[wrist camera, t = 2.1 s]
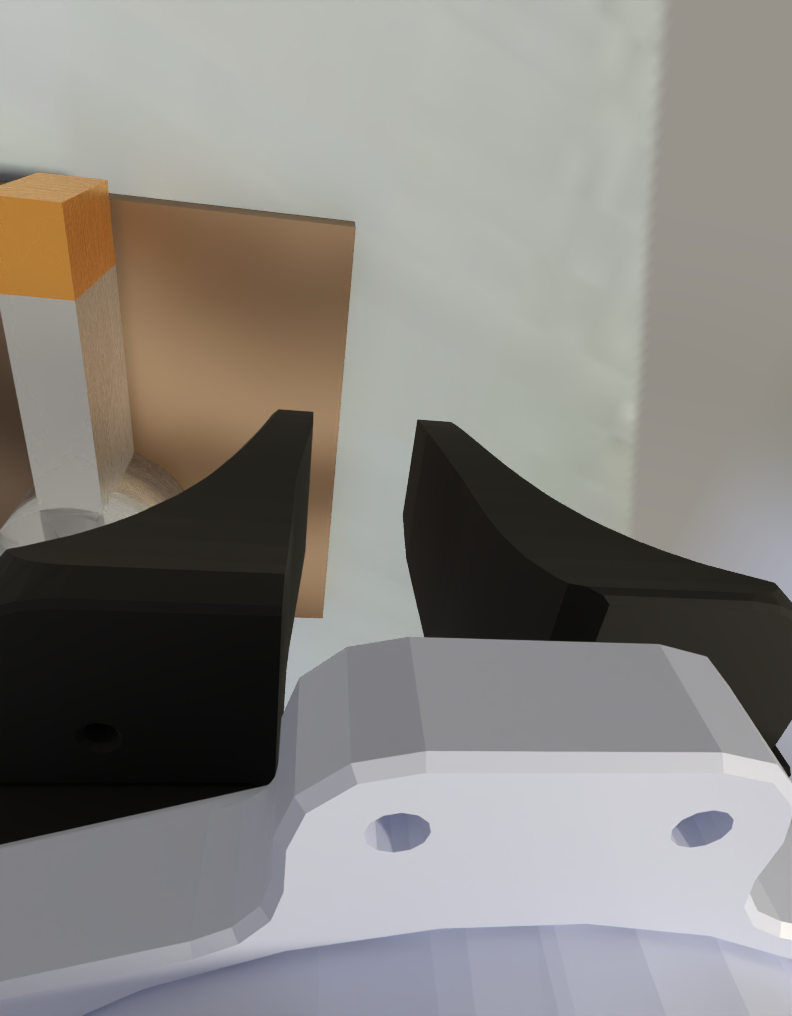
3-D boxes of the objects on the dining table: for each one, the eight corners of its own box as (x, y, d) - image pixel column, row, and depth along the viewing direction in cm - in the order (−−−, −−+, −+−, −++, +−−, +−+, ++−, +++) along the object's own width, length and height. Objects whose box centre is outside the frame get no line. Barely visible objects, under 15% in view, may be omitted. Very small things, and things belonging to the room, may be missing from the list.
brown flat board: (322, 604, 26) (322, 621, 25) (-191, 586, 24) (-209, 605, 23) (354, 221, 19) (355, 228, 18) (-391, 135, 16) (-430, 139, 15)
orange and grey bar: (196, 578, 23) (179, 648, 21) (44, 573, 23) (4, 644, 20) (178, 188, 17) (148, 212, 14) (-38, 162, 16) (-115, 182, 13)
